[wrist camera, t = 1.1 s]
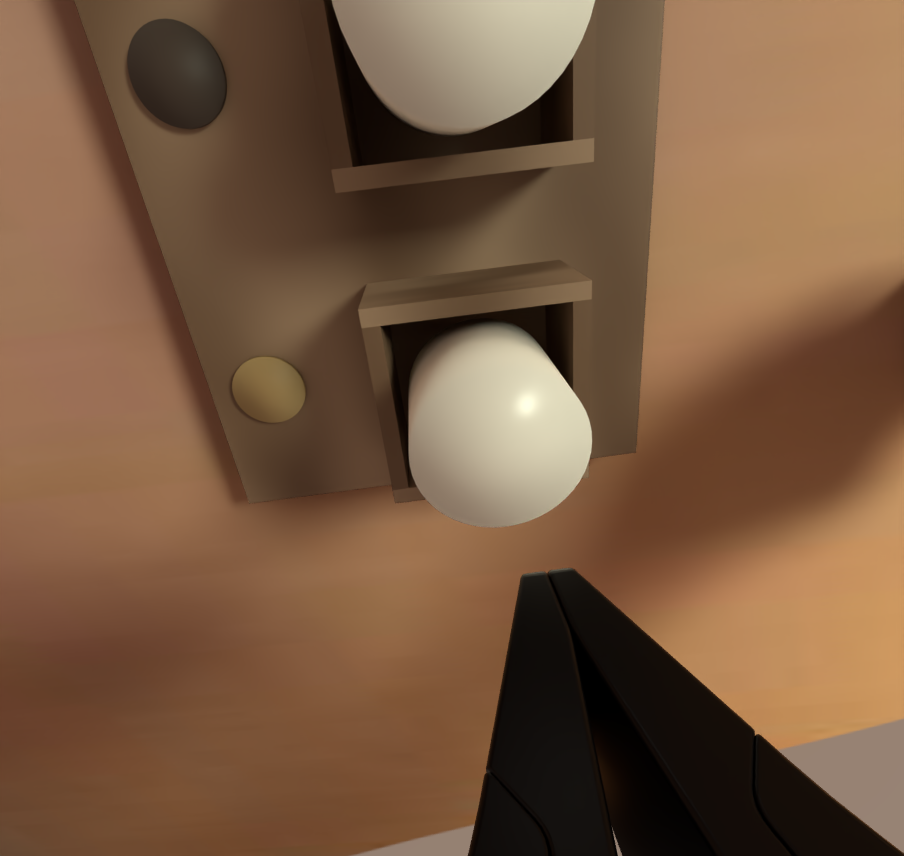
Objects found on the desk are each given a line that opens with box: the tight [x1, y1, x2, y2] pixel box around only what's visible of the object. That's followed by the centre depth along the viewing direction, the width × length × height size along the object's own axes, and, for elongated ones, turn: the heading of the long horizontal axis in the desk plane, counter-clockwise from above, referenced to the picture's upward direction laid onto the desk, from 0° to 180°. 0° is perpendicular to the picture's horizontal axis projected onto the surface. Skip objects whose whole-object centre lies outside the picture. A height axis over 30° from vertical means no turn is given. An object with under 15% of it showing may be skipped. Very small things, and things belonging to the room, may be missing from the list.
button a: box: [408, 318, 592, 527], centre depth 14 cm, size 4×4×4 cm
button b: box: [332, 0, 595, 137], centre depth 10 cm, size 4×4×4 cm
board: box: [74, 0, 665, 504], centre depth 13 cm, size 15×27×4 cm, turn 6°
